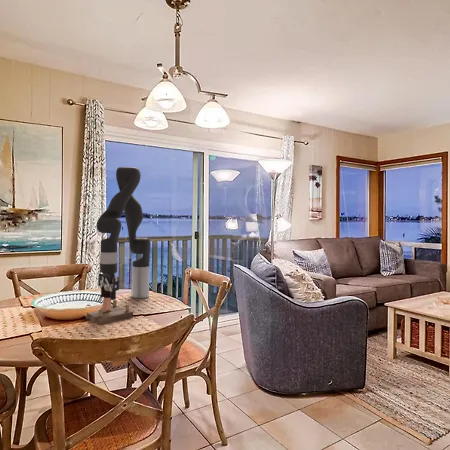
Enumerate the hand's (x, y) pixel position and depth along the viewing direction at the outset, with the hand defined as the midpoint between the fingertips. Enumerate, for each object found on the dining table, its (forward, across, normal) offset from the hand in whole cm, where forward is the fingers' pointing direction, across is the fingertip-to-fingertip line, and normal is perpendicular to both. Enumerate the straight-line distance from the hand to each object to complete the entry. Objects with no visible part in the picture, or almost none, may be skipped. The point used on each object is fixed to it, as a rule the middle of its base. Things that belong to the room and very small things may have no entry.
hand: (108, 298), depth 160 cm
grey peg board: (+9, 0, 0) cm, 9 cm away
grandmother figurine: (+6, 0, 0) cm, 6 cm away
